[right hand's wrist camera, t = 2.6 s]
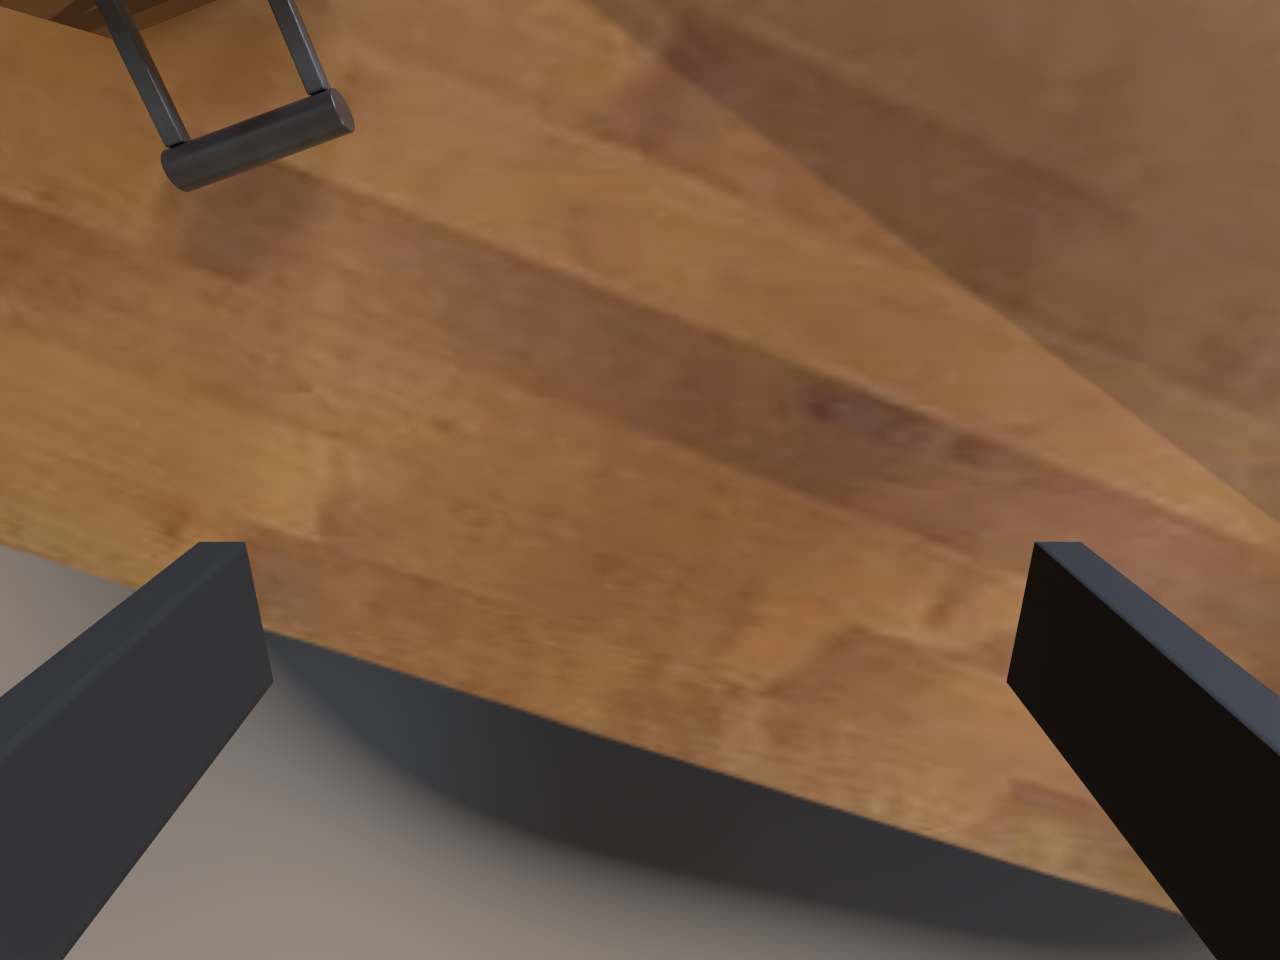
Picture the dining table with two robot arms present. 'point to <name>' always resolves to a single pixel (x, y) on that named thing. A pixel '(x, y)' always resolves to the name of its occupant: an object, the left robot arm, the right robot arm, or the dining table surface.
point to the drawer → (118, 10)
